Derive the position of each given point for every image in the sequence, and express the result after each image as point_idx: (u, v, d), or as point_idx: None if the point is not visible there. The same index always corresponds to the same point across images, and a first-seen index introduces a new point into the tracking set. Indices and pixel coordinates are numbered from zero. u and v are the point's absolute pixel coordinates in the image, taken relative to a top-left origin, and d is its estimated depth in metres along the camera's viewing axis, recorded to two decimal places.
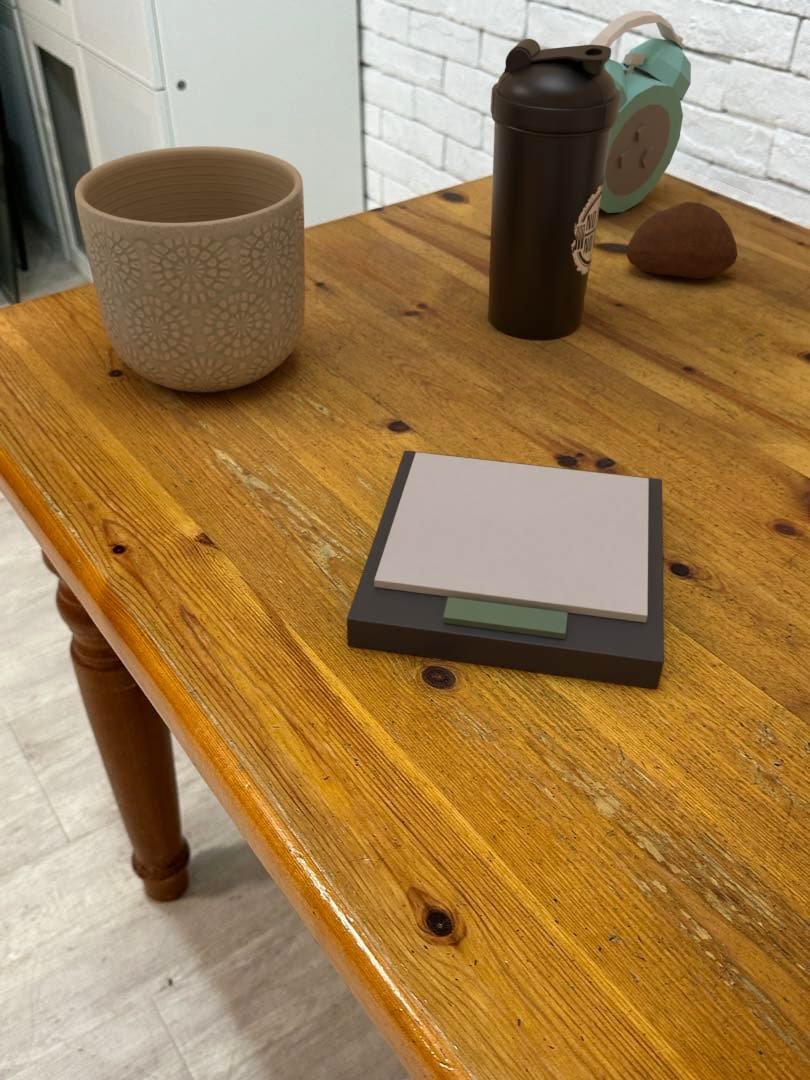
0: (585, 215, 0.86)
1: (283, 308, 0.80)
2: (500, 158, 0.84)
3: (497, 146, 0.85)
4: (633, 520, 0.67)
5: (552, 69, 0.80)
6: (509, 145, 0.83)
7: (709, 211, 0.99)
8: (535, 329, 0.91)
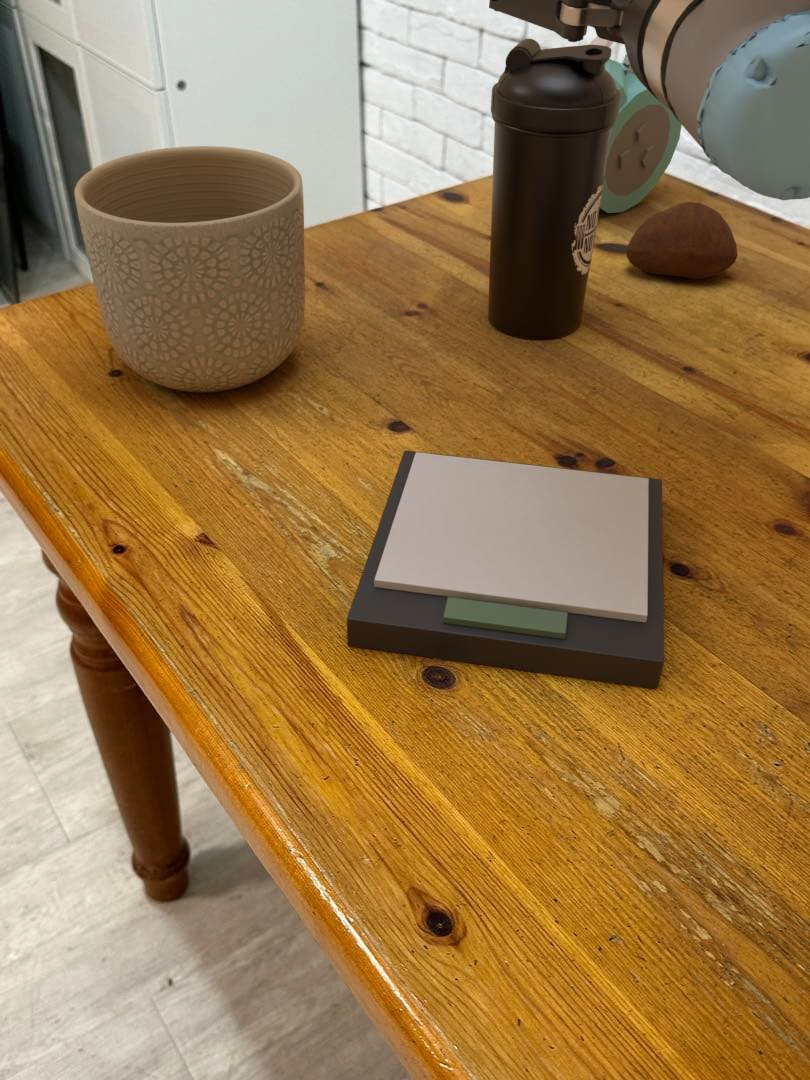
0: (585, 215, 0.86)
1: (283, 308, 0.80)
2: (500, 158, 0.84)
3: (497, 146, 0.85)
4: (633, 520, 0.67)
5: (552, 69, 0.80)
6: (509, 145, 0.83)
7: (709, 211, 0.99)
8: (535, 329, 0.91)
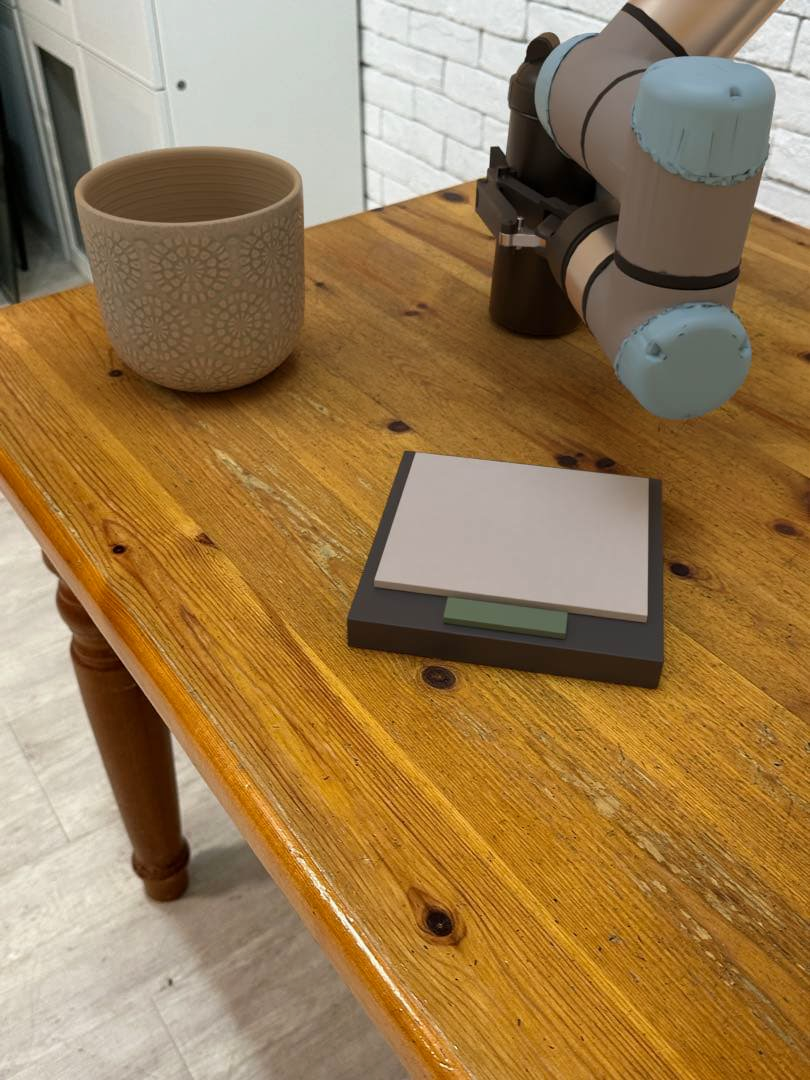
0: None
1: (283, 308, 0.80)
2: (514, 147, 0.84)
3: (512, 135, 0.85)
4: (633, 520, 0.67)
5: None
6: (524, 134, 0.83)
7: None
8: (536, 323, 0.91)
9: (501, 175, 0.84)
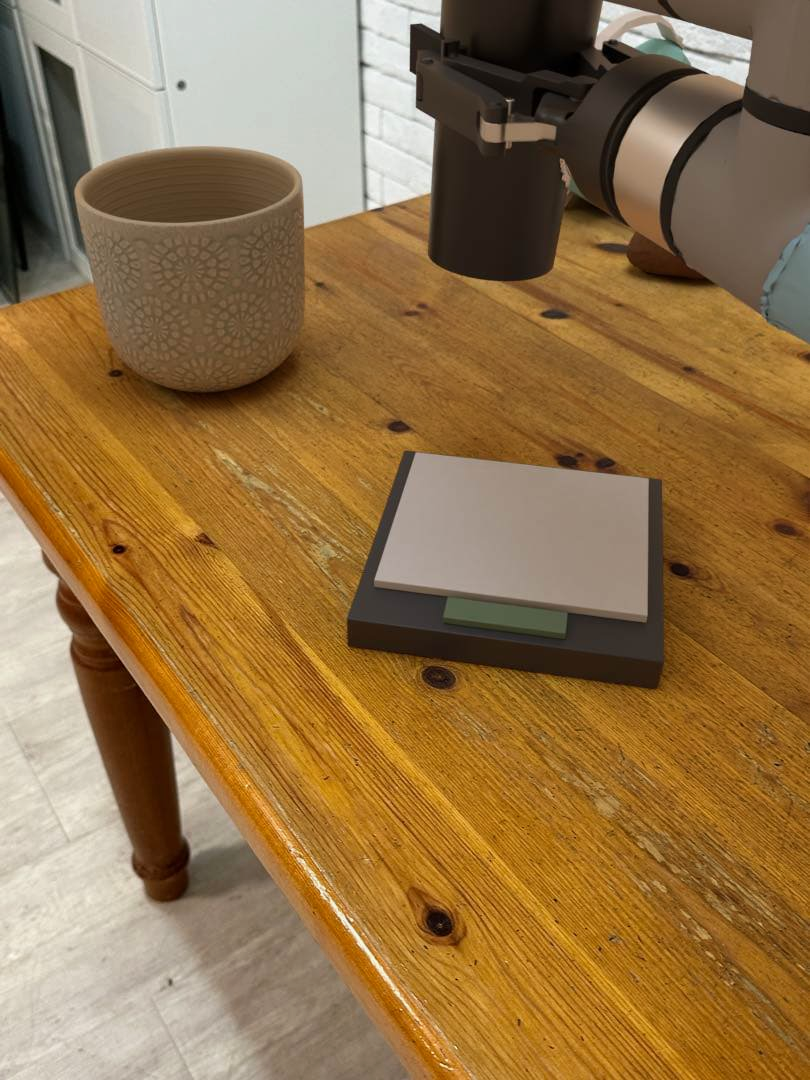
0: None
1: (283, 308, 0.80)
2: (460, 11, 0.59)
3: None
4: (633, 520, 0.67)
5: None
6: None
7: None
8: (506, 266, 0.66)
9: (448, 53, 0.58)
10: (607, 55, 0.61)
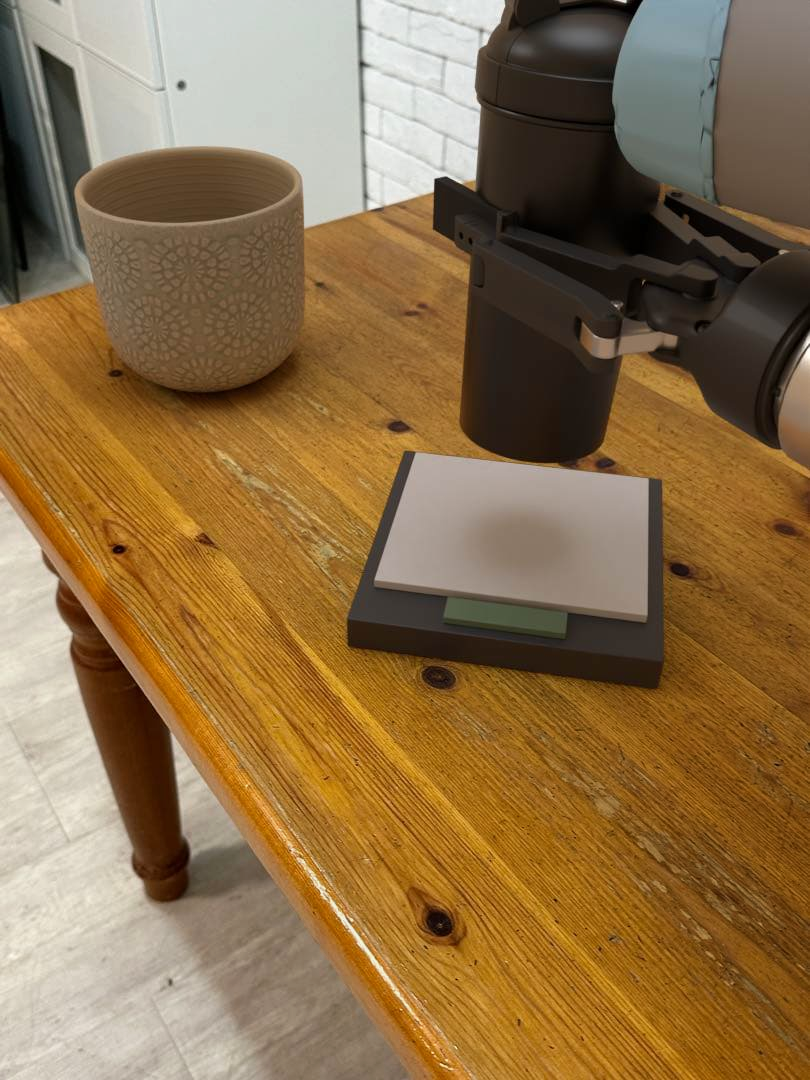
0: None
1: (283, 308, 0.80)
2: (514, 176, 0.49)
3: (504, 157, 0.49)
4: (633, 520, 0.67)
5: (606, 16, 0.46)
6: (537, 152, 0.48)
7: None
8: (564, 447, 0.57)
9: (506, 227, 0.49)
10: (673, 209, 0.53)
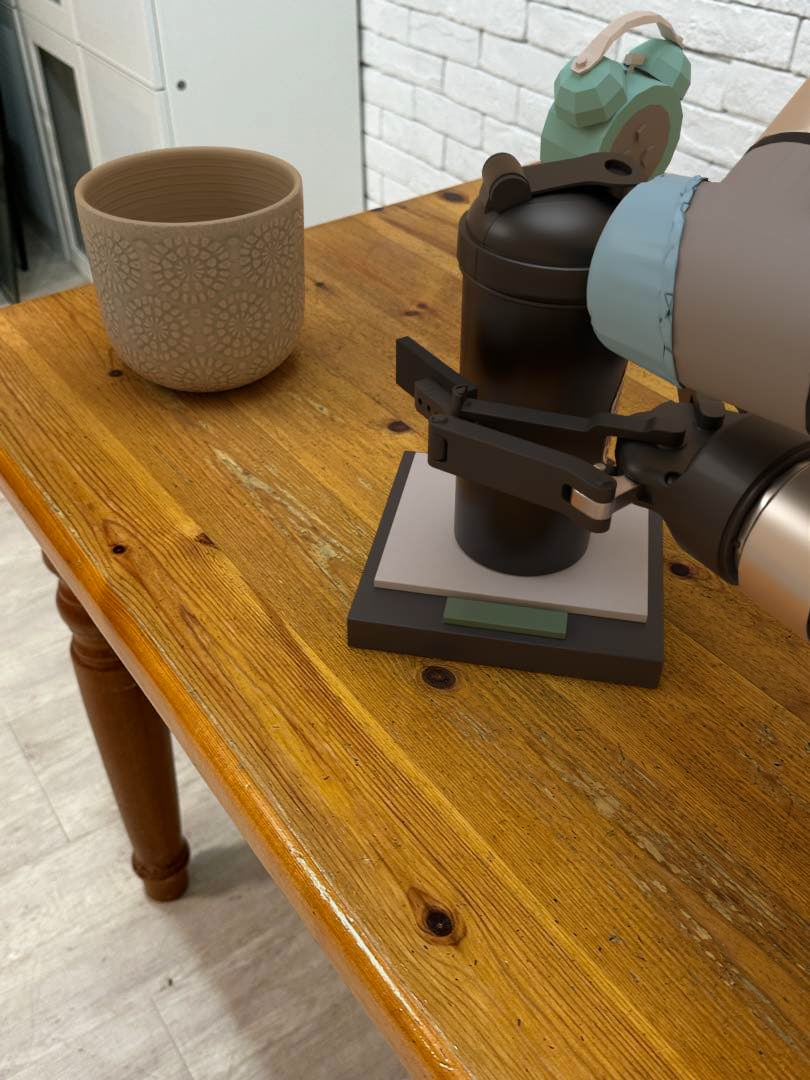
0: (617, 400, 0.57)
1: (283, 308, 0.80)
2: (494, 342, 0.53)
3: (485, 324, 0.53)
4: (633, 520, 0.67)
5: (574, 204, 0.50)
6: (514, 325, 0.52)
7: None
8: (550, 562, 0.62)
9: (462, 403, 0.51)
10: None
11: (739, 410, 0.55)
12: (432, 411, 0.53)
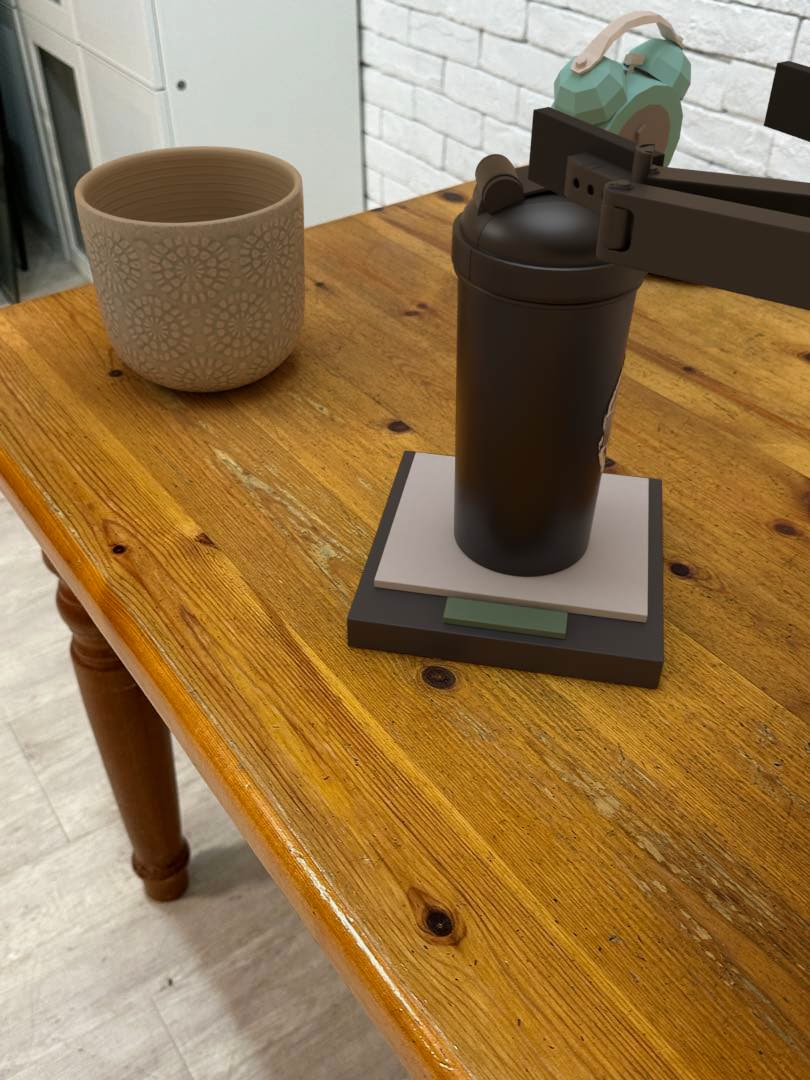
0: (614, 399, 0.57)
1: (283, 308, 0.80)
2: (489, 343, 0.54)
3: (480, 325, 0.54)
4: (633, 520, 0.67)
5: (567, 204, 0.50)
6: (509, 325, 0.52)
7: None
8: (549, 562, 0.62)
9: (649, 168, 0.35)
10: None
11: None
12: (596, 192, 0.37)
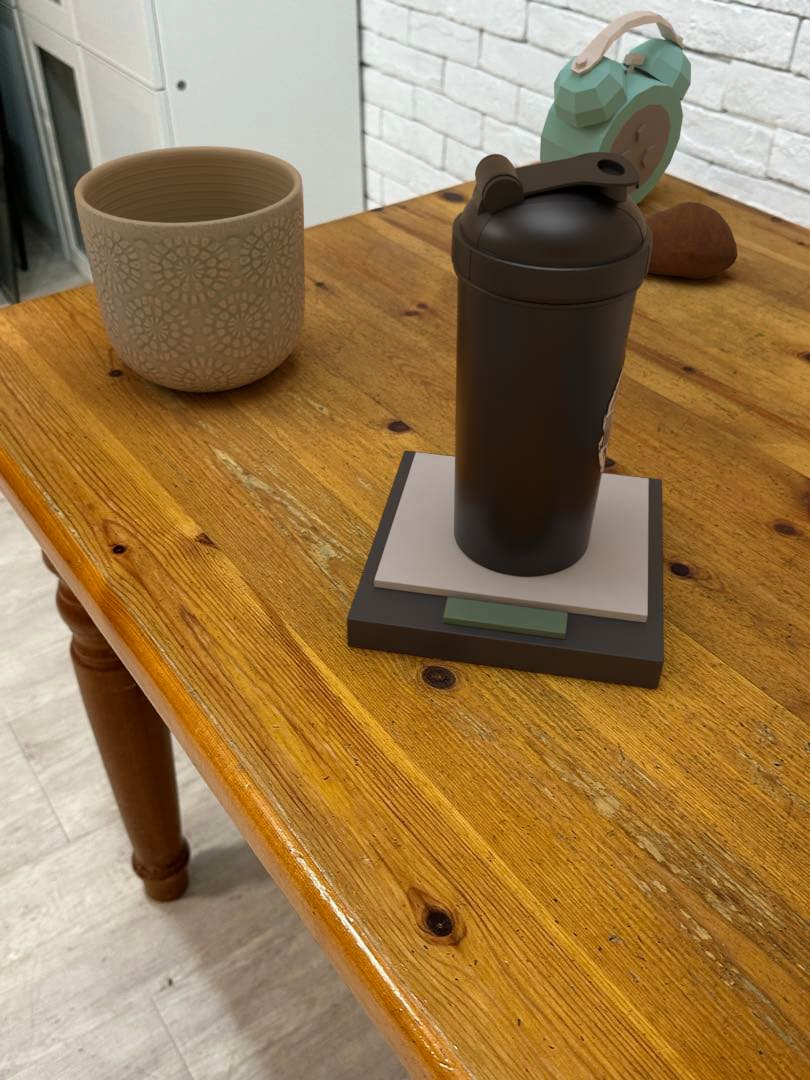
0: (614, 399, 0.57)
1: (283, 308, 0.80)
2: (489, 343, 0.54)
3: (480, 325, 0.54)
4: (633, 520, 0.67)
5: (566, 204, 0.50)
6: (509, 325, 0.52)
7: (709, 211, 0.99)
8: (549, 562, 0.62)
9: None
10: None
11: None
12: None
